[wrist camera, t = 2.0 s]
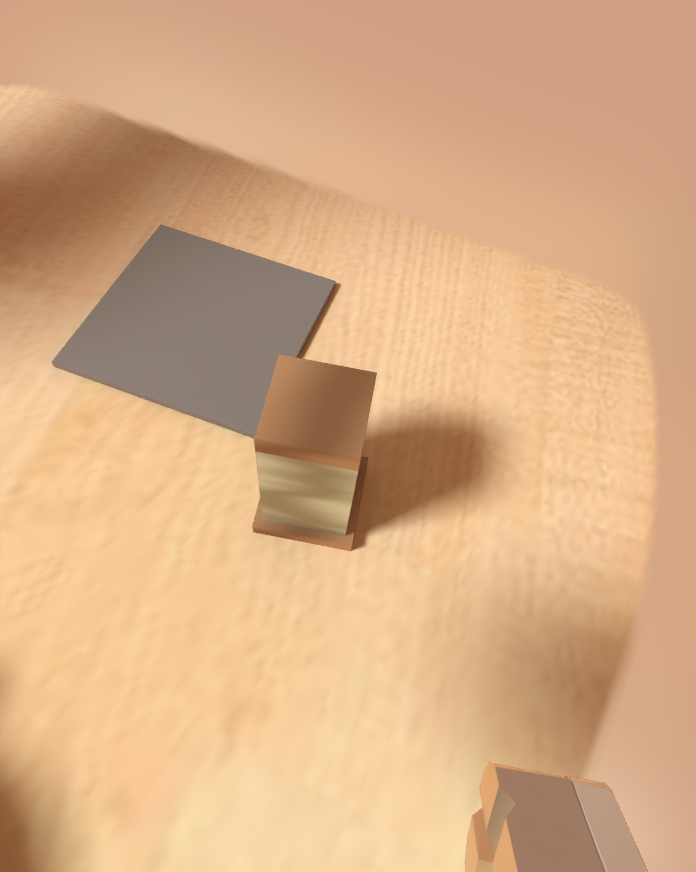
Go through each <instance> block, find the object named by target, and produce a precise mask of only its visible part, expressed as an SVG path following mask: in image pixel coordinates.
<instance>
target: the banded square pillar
mask: <svg viewBox="0 0 696 872" xmlns="http://www.w3.org/2000/svg"><path fill="white" fill-rule="evenodd" d="M376 375H377V373H375V372H370V371H365V370H359V369H354V368H349V367H343V366H338V365H333V364H328V363H322V362H317V361H312V360H306V359H301V358H296V357H290V356H285V355H280V354H279V356H278V359H277V363H276V366H275V369H274V373H273V376H272V379H271V383H270V386H269V390H268V393H267V396H266V400H265V403H264V406H263V410H262V413H261V416H260V420H259V423H258V426H257V430H256V433H255V436H254V443H255V452H256V462H257V471H258V480H259V489H260V500H259V504H258V508H257V511H256V515H255V518H254V522H253V532H256V533H261V534H266V535H271V536H276V537H281V538H286V539H292V540H297V541H302V542H307V543H312V544H317V545H322V546H327V547H332V548H338V549H343V550H348V551H351V548H352V543H353V537H354V532H355V526H356V521H357V515H358V510H359V504H360V499H361V493H362V488H363V482H364V477H365V471H366V465H367V460H368V458H366V457H361V455H362V449H363V444H364V439H365V433H366V428H367V423H368V417H369V412H370V407H371V401H372V396H373V391H374V385H375V380H376Z"/></svg>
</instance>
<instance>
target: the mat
mask: <svg viewBox="0 0 696 872" xmlns="http://www.w3.org/2000/svg"><path fill="white" fill-rule="evenodd" d="M335 282H336V281H333V280H330V279H327V278H324V277H321V276H318V275H315V274H312V273H308V272H305V271H302V270H299V269H296V268H293V267H290V266H287V265H284V264H281V263H278V262H274V261H271V260H268V259H265V258H262V257H259V256H256V255H253V254H250V253H247V252H244V251H241V250H237V249H234V248H231V247H228V246H225V245H222V244H219V243H216V242H213V241H210V240H207V239H203V238H200V237H197V236H194V235H191V234H188V233H185V232H182V231H179V230H176V229H173V228H169V227H166V226H163V225H160V226H159V227H158V229H157V230H156V231H155V233H154V234H153V235H152V236H151V238H150V239H149V240H148V241H147V243H146V244H145V245H144V246H143V248H142V249H141V250H140V251H139V253H138V254H137V255H136V256H135V258H134V259H133V260H132V261H131V263H130V264H129V265H128V266H127V268H126V269H125V270H124V272H123V273H122V274H121V275H120V277H119V278H118V279H117V280H116V282H115V283H114V284H113V285H112V287H111V288H110V289H109V290H108V292H107V293H106V294H105V295H104V297H103V298H102V299H101V300H100V302H99V303H98V304H97V305H96V307H95V308H94V309H93V310H92V312H91V313H90V314H89V316H88V317H87V318H86V319H85V321H84V322H83V323H82V324H81V326H80V327H79V328H78V329H77V331H76V332H75V333H74V334H73V336H72V337H71V338H70V339H69V341H68V342H67V343H66V344H65V346H64V347H63V348H62V349H61V351H60V352H59V353H58V354H57V356H56V357H55V358H54V360H53V361H52V364H53V365H54V367H57V368H60V369H63V370H65V371H68V372H71V373H74V374H77V375H79V376H82V377H85V378H88V379H90V380H93V381H96V382H99V383H102V384H104V385H107V386H110V387H113V388H115V389H118V390H121V391H124V392H127V393H129V394H132V395H135V396H138V397H140V398H143V399H146V400H149V401H152V402H154V403H157V404H160V405H163V406H166V407H168V408H171V409H174V410H177V411H179V412H182V413H185V414H188V415H191V416H193V417H196V418H199V419H202V420H204V421H207V422H210V423H213V424H216V425H218V426H221V427H224V428H227V429H229V430H232V431H235V432H238V433H241V434H243V435H246V436H249V437H252V438H254V436H255V433H256V430H257V426H258V423H259V420H260V416H261V413H262V410H263V406H264V403H265V400H266V396H267V393H268V390H269V386H270V383H271V379H272V376H273V373H274V369H275V366H276V363H277V359H278V356H279V354H280V355H285V356H290V357H296V358H298V356H299V354H300V352H301V350H302V348H303V347H304V345H305V343H306V341H307V339H308V337H309V335H310V333H311V331H312V329H313V327H314V325H315V324H316V322H317V320H318V318H319V316H320V314H321V312H322V310H323V308H324V306H325V304H326V302H327V301H328V299H329V297H330V295H331V293H332V291H333V289H334V287H335Z"/></svg>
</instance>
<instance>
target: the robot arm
mask: <svg viewBox="0 0 696 872" xmlns="http://www.w3.org/2000/svg"><path fill="white" fill-rule="evenodd" d="M480 793H481V799H482V805H483V808H481V809H480V810H479V811H478V812H476V813H475V814H474V815H472V819H471V823H470V828H469V832H468V836H467V846H466V856H465V872H648V870H647V868H646V866H645V864H644V861H643V859H642V857H641V855H640V852H639V850H638V848H637V846H636V844H635V842H634V839H633V837H632V835H631V832H630V831H629V828H628V826H627V823H626V821H625V819H624V817H623V815H622V812H621V810H620V808H619V806H618V803H617V801H616V799H615V797H614V794H613V792H612V790H611V789H610V788H609V787H608V786H607V785H606V784H605V783H603V782H597V781H592V780H586V779H580V778H574V777H568V776H566V777H562V776H557V775H552V774H547V773H541V772H536V771H531V770H526V769H520V768H515V767H510V766H505V765H499V764H494V763H488V765H487V767H486V769H485V771H484V774H483V777H482V781H481V784H480Z"/></svg>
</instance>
